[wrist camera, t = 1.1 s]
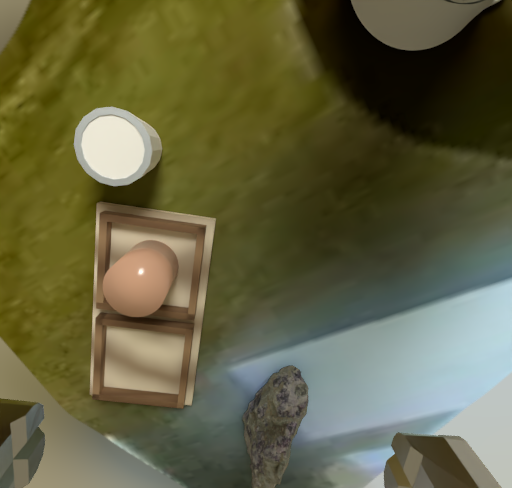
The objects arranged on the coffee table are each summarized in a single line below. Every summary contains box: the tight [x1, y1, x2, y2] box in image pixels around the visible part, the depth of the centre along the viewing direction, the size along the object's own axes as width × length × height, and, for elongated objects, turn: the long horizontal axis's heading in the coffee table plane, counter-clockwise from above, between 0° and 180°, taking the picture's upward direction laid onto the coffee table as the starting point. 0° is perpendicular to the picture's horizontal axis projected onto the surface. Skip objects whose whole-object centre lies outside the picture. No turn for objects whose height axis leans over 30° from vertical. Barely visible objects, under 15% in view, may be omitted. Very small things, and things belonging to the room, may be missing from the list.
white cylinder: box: [74, 107, 162, 186], centre depth 34 cm, size 7×7×7 cm
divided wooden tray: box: [90, 202, 216, 409], centre depth 42 cm, size 25×13×2 cm, turn 171°
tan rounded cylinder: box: [103, 240, 179, 317], centre depth 37 cm, size 6×6×7 cm
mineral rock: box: [242, 365, 308, 488], centre depth 43 cm, size 13×11×10 cm
